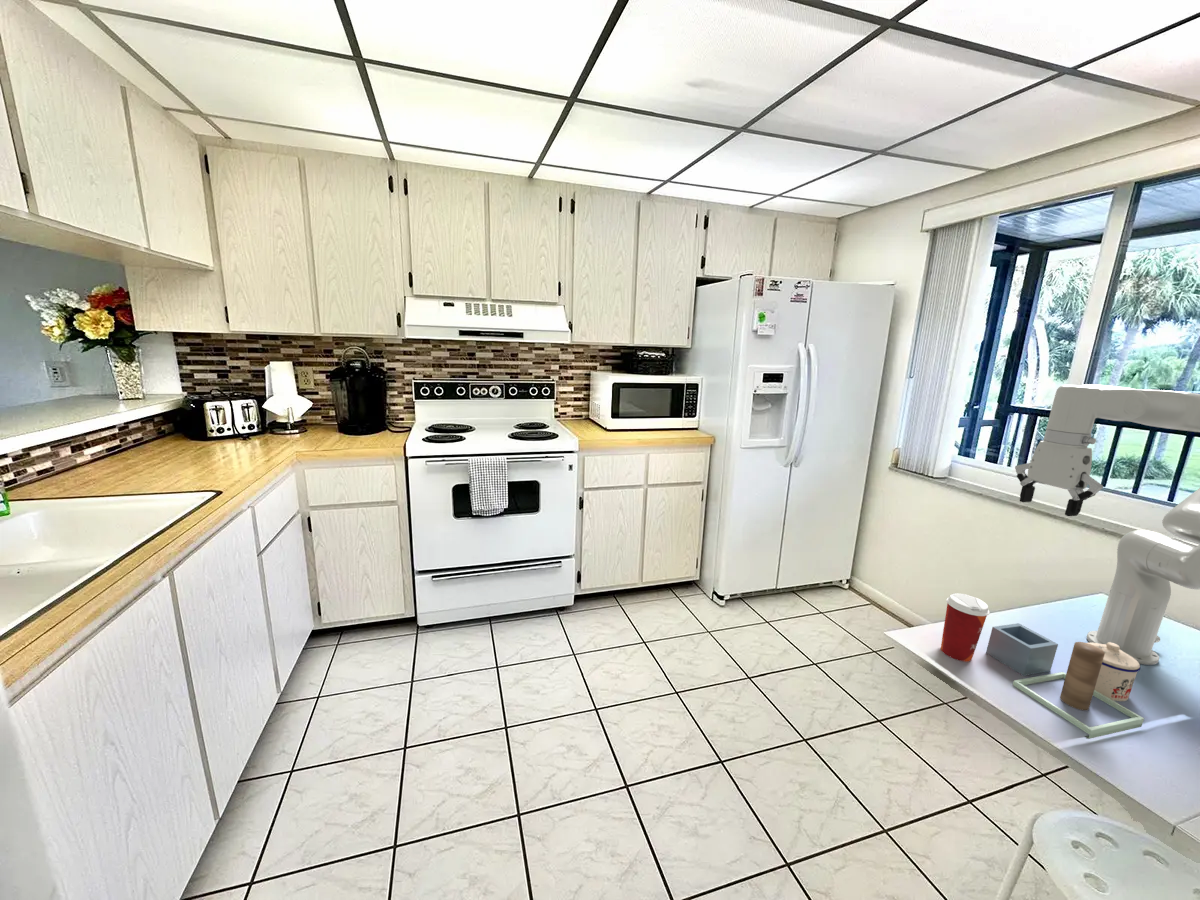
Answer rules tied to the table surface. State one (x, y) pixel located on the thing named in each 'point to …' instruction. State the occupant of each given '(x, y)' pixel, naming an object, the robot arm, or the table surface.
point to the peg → (1082, 675)
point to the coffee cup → (963, 626)
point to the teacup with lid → (1116, 672)
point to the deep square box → (1021, 649)
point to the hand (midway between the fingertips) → (1047, 508)
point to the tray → (1092, 731)
